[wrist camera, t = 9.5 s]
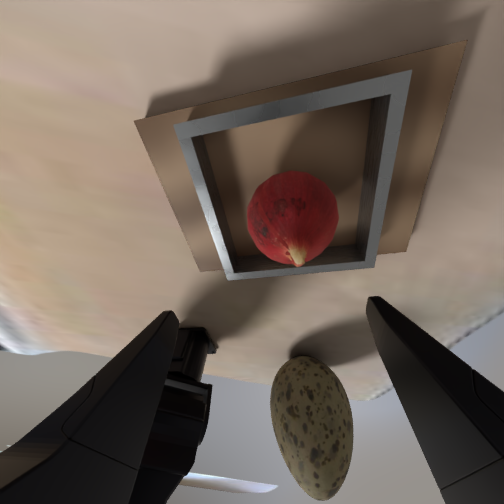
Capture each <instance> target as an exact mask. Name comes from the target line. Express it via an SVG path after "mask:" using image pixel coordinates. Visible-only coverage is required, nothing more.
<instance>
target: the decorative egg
mask: <svg viewBox="0 0 504 504" xmlns="http://www.w3.org/2000/svg"><path fill="white" fill-rule="evenodd" d="M270 399H271V400H270V408H271V418H272V424H273V428H274V432H275V436H276V439H277V442H278V445H279V448H280V451H281V453H282V456H283V458H284V460H285V462H286V464H287V466H288V468H289V470H290V472H291V473H292V475H293V477H294V478H295V480H296V481H297V483H298V484H299V486H300V487H301V488H302V489H303V490H304V491H305V492H306V493H307V494H308V495H309V496H311V497H312V498H314V499H317V500H322V501H324V500H328V499H330V498H332V497H333V496H334V495H335V494H336V493H337V492H338V491H339V489H340V487H341V486H342V484H343V482H344V480H345V477H346V475H347V472H348V469H349V466H350V462H351V456H352V450H353V419H352V412H351V408H350V404H349V400H348V397H347V394H346V392H345V389H344V387H343V385H342V384H341V382H340V380H339V379H338V377H337V376H336V375H335V373H334V372H333V371H332V370H331V369H330V368H329V367H328V366H327V365H325V364H324V363H323V362H321V361H319V360H317V359H315V358H312V357H308V356H299V357H295V358H292V359H290V360H289V361H287V362H286V363H285V364H284V365H283V366H282V367H281V368H280V370H279V371H278V373H277V374H276V376H275V379H274V381H273V385H272V389H271V398H270Z"/></svg>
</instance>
